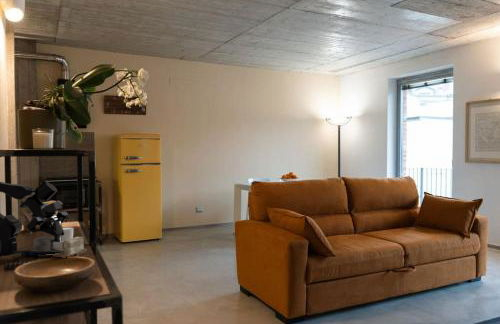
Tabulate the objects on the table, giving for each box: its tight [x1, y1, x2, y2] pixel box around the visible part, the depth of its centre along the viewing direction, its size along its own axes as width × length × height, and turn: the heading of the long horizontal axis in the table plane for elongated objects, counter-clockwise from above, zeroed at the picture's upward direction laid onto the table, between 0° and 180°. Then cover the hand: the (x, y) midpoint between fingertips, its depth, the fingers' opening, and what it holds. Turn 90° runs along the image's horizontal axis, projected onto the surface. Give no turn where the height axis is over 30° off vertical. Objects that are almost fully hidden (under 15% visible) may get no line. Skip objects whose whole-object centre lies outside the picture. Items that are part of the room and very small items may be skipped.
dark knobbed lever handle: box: [51, 221, 64, 250], centre depth 171 cm, size 15×3×11 cm, turn 76°
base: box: [30, 236, 88, 256], centre depth 170 cm, size 21×12×6 cm, turn 75°
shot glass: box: [62, 226, 75, 241], centre depth 190 cm, size 7×7×7 cm
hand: (60, 235), depth 170 cm, fingers closed on dark knobbed lever handle, 3 cm apart
